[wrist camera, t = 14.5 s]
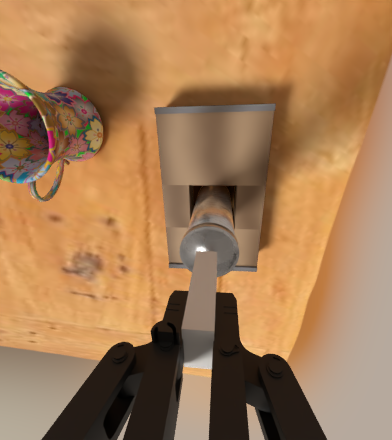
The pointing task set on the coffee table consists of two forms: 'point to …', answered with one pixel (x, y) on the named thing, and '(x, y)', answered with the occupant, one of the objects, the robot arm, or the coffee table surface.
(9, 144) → the floral flared cup
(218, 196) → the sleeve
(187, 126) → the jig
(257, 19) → the coffee table surface
